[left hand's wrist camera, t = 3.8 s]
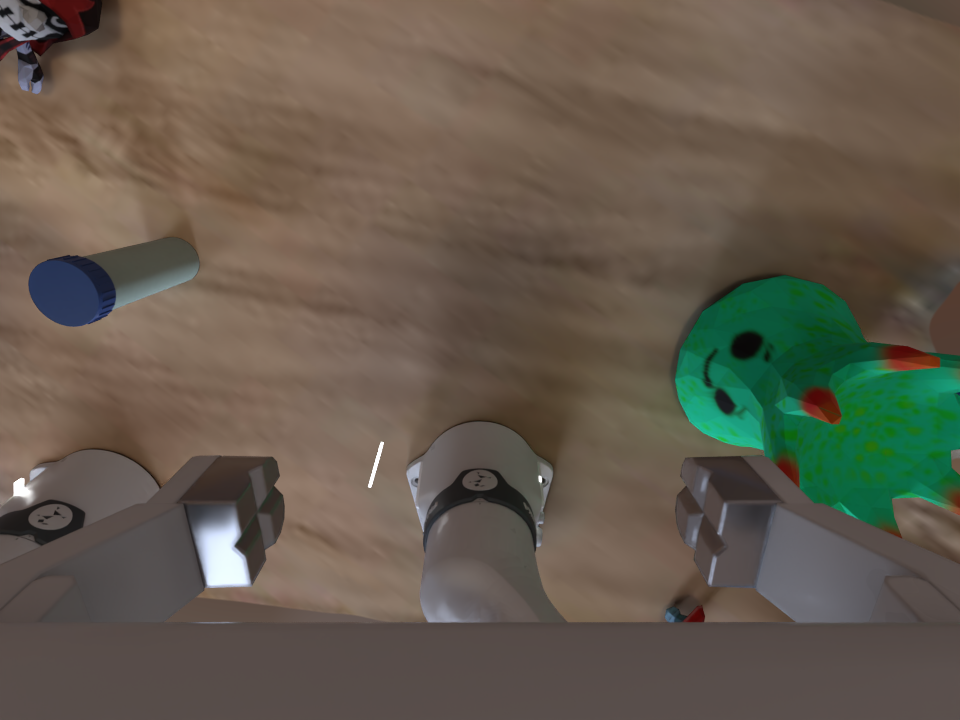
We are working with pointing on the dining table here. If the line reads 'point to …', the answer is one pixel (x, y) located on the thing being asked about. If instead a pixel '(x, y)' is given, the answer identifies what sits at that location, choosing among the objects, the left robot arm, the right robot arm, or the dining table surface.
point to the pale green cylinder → (148, 267)
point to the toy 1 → (42, 30)
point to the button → (694, 616)
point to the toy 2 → (824, 399)
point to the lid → (72, 290)
